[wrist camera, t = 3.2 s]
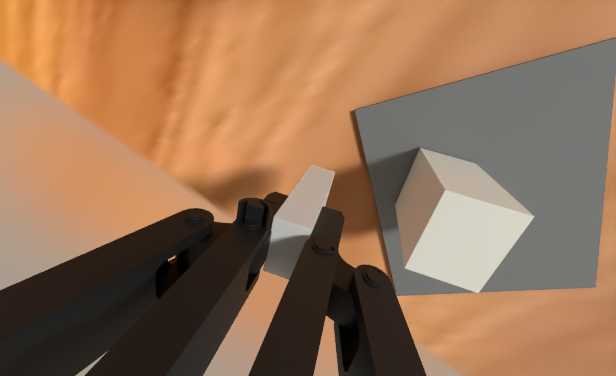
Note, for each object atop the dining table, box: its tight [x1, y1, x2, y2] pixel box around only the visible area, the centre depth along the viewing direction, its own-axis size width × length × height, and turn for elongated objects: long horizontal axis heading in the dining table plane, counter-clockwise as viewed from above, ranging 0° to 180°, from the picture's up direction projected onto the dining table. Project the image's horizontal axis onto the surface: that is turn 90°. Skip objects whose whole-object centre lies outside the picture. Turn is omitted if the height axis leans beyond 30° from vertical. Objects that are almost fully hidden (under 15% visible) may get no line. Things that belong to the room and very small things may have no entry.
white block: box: [395, 147, 535, 293], centre depth 17 cm, size 4×5×8 cm
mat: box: [355, 38, 616, 296], centre depth 20 cm, size 18×15×1 cm
